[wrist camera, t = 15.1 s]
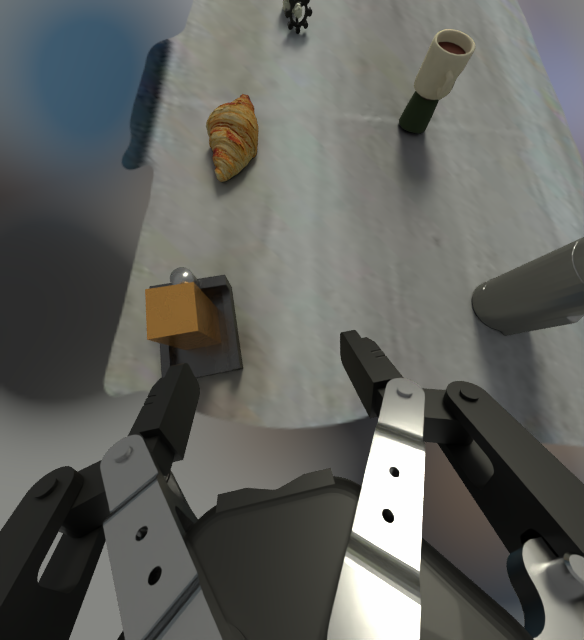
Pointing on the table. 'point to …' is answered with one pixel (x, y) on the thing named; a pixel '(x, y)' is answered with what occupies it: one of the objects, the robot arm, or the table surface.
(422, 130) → the character mug
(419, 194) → the table surface
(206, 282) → the tray
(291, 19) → the valve
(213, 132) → the croissant
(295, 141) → the table surface
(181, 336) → the block
